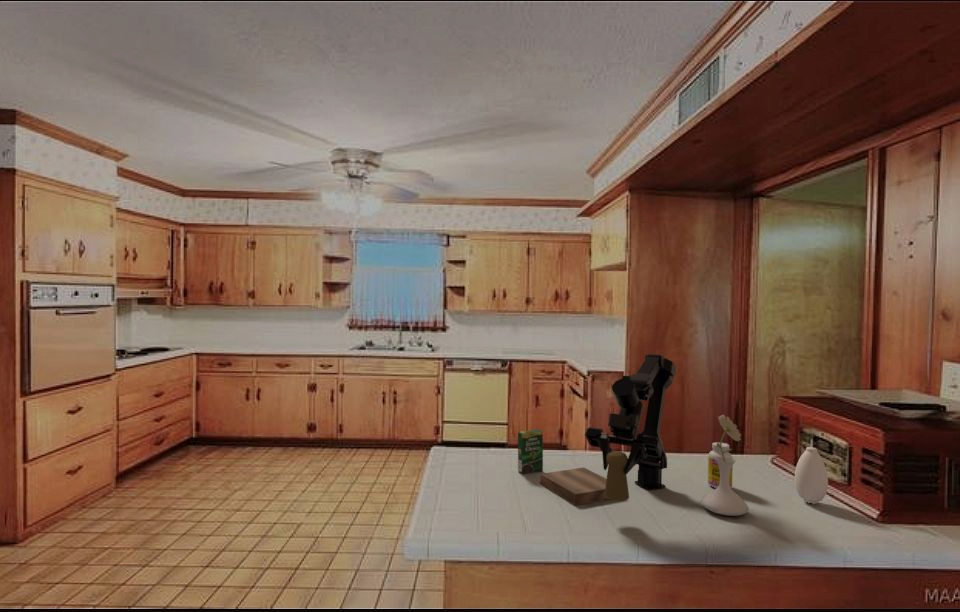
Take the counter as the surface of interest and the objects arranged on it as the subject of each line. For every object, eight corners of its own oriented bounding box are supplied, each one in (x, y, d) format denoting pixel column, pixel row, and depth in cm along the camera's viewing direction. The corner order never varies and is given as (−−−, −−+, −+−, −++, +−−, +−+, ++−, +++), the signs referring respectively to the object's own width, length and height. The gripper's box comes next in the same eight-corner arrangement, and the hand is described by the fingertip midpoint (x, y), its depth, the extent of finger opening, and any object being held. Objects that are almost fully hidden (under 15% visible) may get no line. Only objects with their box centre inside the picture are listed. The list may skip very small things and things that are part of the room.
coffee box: (521, 474, 164) (521, 433, 164) (516, 471, 166) (517, 431, 166) (543, 471, 167) (543, 431, 167) (538, 468, 170) (539, 429, 170)
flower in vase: (752, 522, 130) (754, 423, 129) (703, 516, 133) (705, 419, 133) (742, 503, 142) (744, 413, 142) (697, 498, 145) (699, 410, 145)
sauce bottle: (825, 501, 145) (827, 437, 145) (829, 510, 138) (830, 443, 138) (793, 495, 149) (794, 433, 149) (795, 504, 142) (796, 439, 142)
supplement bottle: (708, 488, 153) (708, 445, 153) (707, 481, 160) (708, 440, 159) (733, 492, 151) (733, 448, 151) (731, 485, 157) (732, 442, 157)
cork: (631, 494, 131) (632, 451, 131) (625, 502, 125) (626, 457, 125) (608, 489, 134) (608, 447, 134) (601, 497, 129) (601, 453, 128)
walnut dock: (583, 476, 162) (583, 467, 162) (622, 496, 146) (622, 486, 146) (540, 483, 155) (540, 473, 155) (575, 505, 139) (575, 494, 139)
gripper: (587, 396, 138) (571, 447, 129) (659, 405, 128) (647, 461, 118) (598, 420, 144) (582, 470, 135) (667, 430, 134) (655, 485, 125)
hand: (614, 471), depth 128 cm, fingers closed on cork, 5 cm apart
